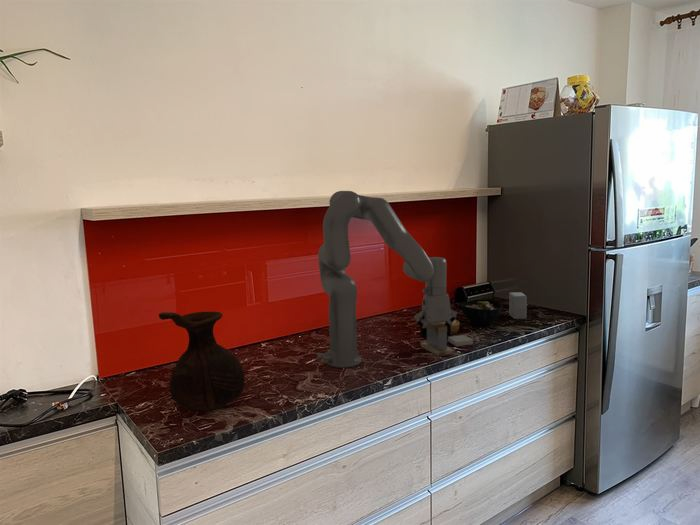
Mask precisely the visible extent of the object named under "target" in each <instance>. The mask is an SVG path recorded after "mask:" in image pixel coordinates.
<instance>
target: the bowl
mask: <svg viewBox="0 0 700 525" xmlns="http://www.w3.org/2000/svg"><path fill="white" fill-rule="evenodd" d="M460 308H461V311H462V314H463V316H464V317H465V318H466V319H467V320H468V321H469V322H470V324H471V326H472V325H473V326H475V327H489V326H491V325H492V324H493V322H494V321H496V320H497V319H498V317H499V316H500V315H501V312H502V311H503V310H502V309H503V304H502V303H501V302H499V301H496V300H492V299H476V300H470V301H466V302H464V303H461V305H460Z"/></svg>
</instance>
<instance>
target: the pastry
mask: <svg viewBox="0 0 700 525" xmlns="http://www.w3.org/2000/svg"><path fill="white" fill-rule="evenodd" d="M439 323H442V324H445V323H446V322H439ZM459 329H460V321H459V320H458V319H455V320H454V321H453V322H452V325H451V332H450V336H455V335H456V334H458V332H459ZM447 337H449V336H448V335H447Z"/></svg>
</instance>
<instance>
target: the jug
mask: <svg viewBox="0 0 700 525" xmlns="http://www.w3.org/2000/svg"><path fill="white" fill-rule="evenodd" d="M222 317H223V313H222V312H219V311H197V312H191V313H186V314H182V315H181V314H180V313H176V312H172V311H171V312H169V311H168V312H167V311H165V312H163V311H162V312H160V313H158V318H159V319H160V320H163V321H164V320H172V321H173V322H174V325H175V326H177V327H180V328H183V329H185V330H186V332H187V334H188V345H187V348H186V350H185V351H184V352H183V353H182V354H181V355H180V357H179V358H178V359H177V362H176V364H175V365H174V368H173V369H172V370H171V371H170V372H171V376H170V381H169V393H170V396H171V398H172V400H173V401H174V403H176V404H178V405H179V406H182V407H184V408H188V409H190V410H191V409H192V410H195V411H199V412H210V411H217V410H219V409H221V408H224V407H225V406H227V405H228V404H231V403H232V402H233V401H235V400H236V399H237V398H239V397H240V395H242V393H243V391H244V388H245V383H246V382H245V373H244V369H243V366H242V364H241V361H240V360H239V358H237V356H236V355H234V354H233V353H232V352H231V351H229V350H228V349H227V348H226V347H224V346H222V345H220V344H218V343H217V341H216V338H215V335H214V326H215V324H216V323H217V322H218V321H220V320H221V318H222Z"/></svg>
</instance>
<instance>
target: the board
mask: <svg viewBox="0 0 700 525" xmlns="http://www.w3.org/2000/svg"><path fill="white" fill-rule="evenodd" d="M420 347H422V348H423V349H425V350H426V351H428V352H429V353H432V354H433V355H434V356H436V357H438V356H439V357H440V356H446V355H452V354H455V350H454V349H453V348H451V347H449V346H448V345H447V349H446V350H440V351H438V350H436V349H435V348H433V347H431V346H430V345H428V344H427V341H423V342H420Z"/></svg>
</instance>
